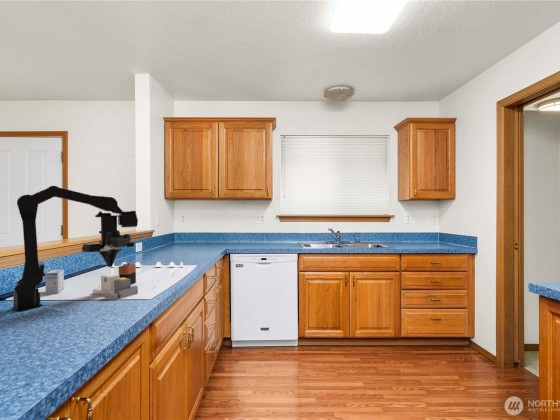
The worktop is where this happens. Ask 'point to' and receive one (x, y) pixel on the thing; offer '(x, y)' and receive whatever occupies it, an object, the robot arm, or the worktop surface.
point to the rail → (120, 294)
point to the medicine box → (54, 281)
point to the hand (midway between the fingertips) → (110, 266)
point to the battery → (128, 272)
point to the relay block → (121, 284)
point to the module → (108, 282)
